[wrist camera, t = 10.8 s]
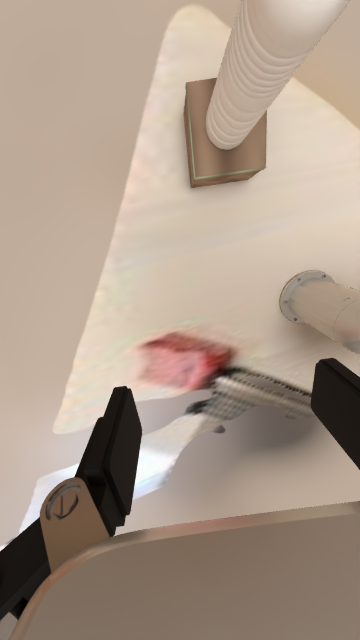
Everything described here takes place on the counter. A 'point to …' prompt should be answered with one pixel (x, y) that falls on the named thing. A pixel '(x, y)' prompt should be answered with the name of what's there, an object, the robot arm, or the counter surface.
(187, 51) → the counter surface
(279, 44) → the water bottle
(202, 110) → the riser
